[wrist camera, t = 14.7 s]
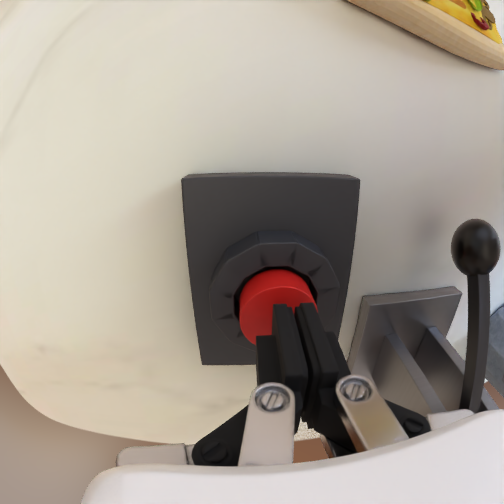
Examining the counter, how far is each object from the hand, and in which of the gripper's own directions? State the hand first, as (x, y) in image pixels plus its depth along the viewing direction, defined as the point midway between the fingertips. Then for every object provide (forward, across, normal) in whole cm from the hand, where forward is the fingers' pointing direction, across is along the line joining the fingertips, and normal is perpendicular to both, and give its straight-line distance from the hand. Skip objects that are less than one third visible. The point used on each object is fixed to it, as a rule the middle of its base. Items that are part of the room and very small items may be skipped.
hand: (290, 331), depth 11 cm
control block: (+6, 0, 0) cm, 6 cm away
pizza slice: (+6, -12, -26) cm, 29 cm away
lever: (-1, -11, +3) cm, 11 cm away
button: (+3, 0, 0) cm, 3 cm away
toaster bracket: (+6, -11, +7) cm, 14 cm away
